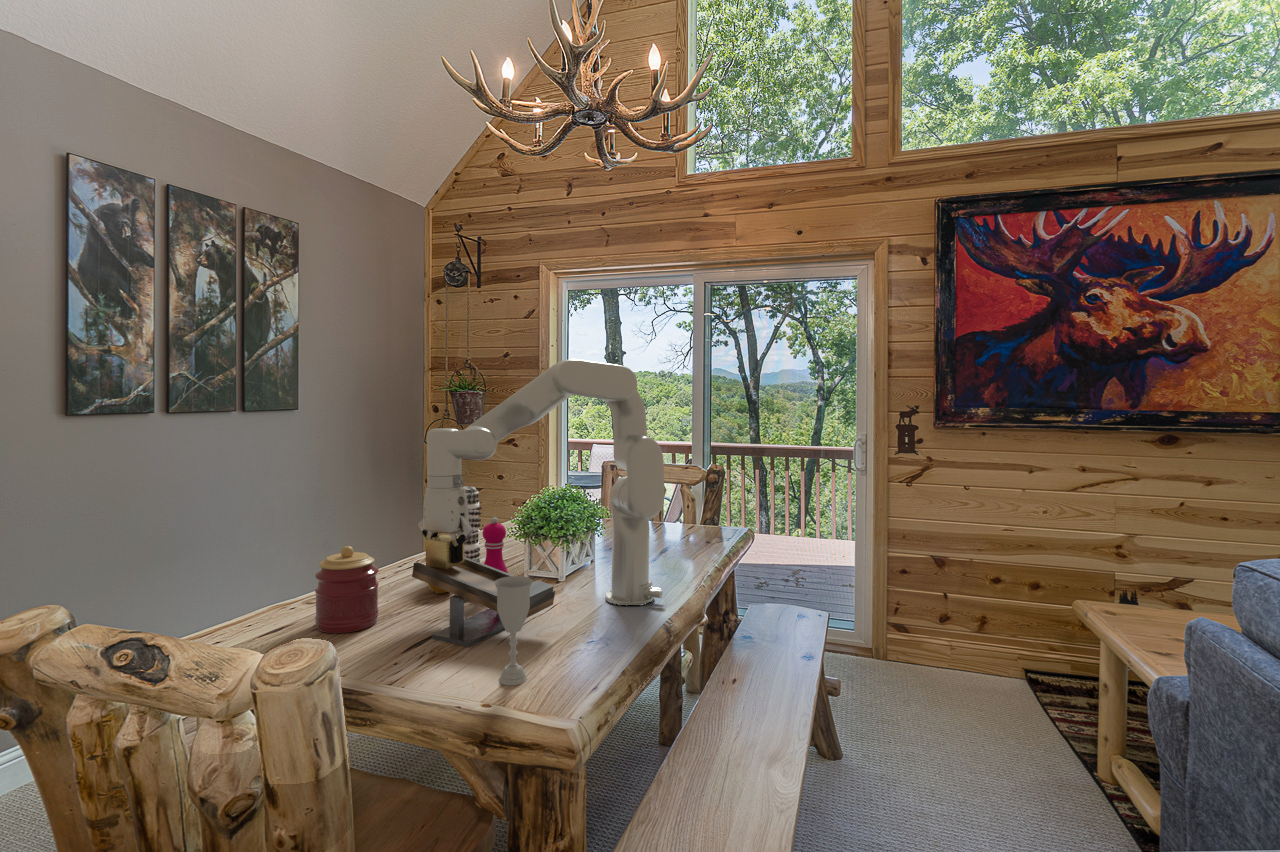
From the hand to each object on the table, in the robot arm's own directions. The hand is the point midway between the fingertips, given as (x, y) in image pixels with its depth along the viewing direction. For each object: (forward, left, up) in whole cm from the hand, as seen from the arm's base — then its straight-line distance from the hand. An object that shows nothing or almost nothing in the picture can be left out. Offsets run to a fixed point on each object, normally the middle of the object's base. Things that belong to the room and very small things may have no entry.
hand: (445, 559), depth 146 cm
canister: (+17, +12, -14) cm, 26 cm away
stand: (-11, 0, -14) cm, 18 cm away
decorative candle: (+23, -34, -14) cm, 43 cm away
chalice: (-33, +18, -14) cm, 40 cm away
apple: (+15, -16, -14) cm, 26 cm away
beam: (-11, 0, -6) cm, 12 cm away
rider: (0, 0, -1) cm, 1 cm away
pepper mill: (+3, -22, -14) cm, 26 cm away
